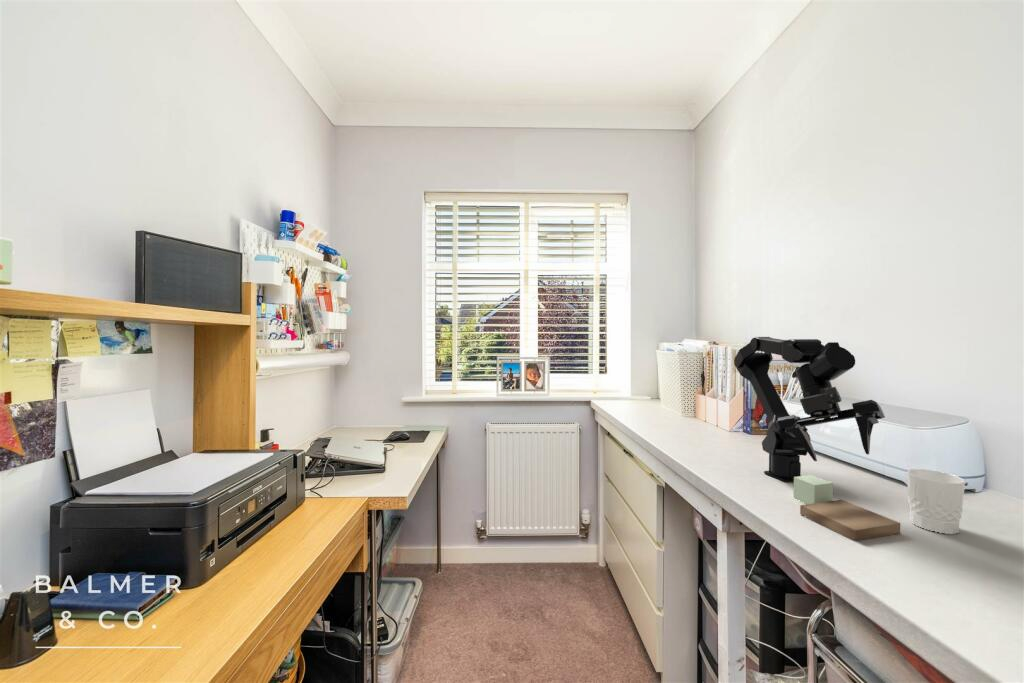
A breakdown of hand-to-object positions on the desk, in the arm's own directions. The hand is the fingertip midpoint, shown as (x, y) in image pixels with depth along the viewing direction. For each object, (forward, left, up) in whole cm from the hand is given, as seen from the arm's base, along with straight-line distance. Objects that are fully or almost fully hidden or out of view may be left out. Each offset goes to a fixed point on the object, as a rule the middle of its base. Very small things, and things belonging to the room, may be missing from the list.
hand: (840, 457), depth 88 cm
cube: (-5, -1, -12) cm, 13 cm away
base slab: (+5, -4, -11) cm, 13 cm away
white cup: (+10, +11, -12) cm, 19 cm away
